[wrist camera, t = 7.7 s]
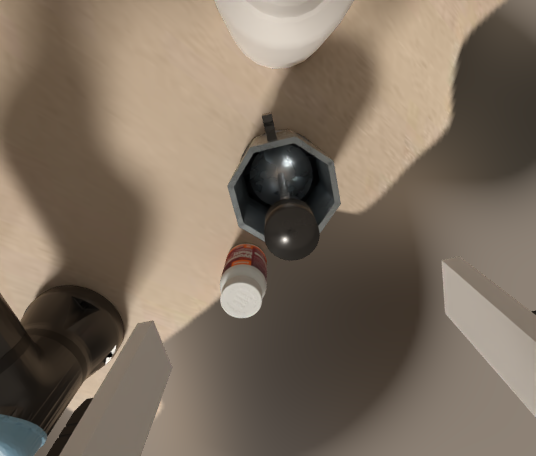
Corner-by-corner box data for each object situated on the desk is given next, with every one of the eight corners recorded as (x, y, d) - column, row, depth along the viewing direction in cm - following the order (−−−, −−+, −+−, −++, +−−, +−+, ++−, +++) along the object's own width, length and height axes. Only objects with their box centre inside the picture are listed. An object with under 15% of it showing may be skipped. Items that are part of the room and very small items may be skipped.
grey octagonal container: (250, 220, 50) (245, 255, 38) (224, 123, 45) (209, 129, 34) (328, 202, 49) (347, 233, 37) (310, 102, 44) (325, 100, 33)
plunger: (258, 210, 48) (250, 296, 26) (243, 151, 45) (220, 193, 24) (317, 197, 47) (357, 273, 26) (305, 136, 45) (340, 165, 23)
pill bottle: (251, 234, 51) (247, 268, 40) (274, 265, 52) (276, 306, 42) (218, 256, 52) (205, 294, 41) (242, 285, 54) (235, 330, 43)
